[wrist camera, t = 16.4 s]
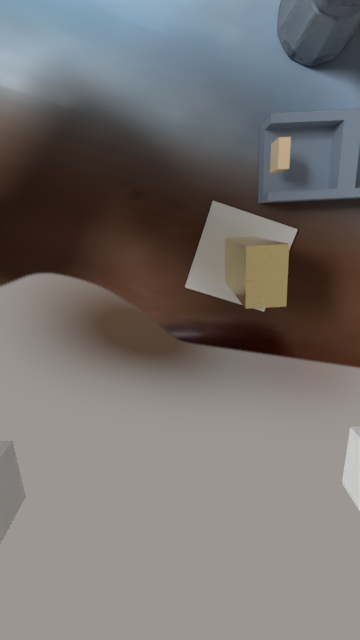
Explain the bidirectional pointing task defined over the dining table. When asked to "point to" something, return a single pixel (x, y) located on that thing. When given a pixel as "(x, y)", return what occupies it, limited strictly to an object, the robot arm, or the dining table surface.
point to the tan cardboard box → (257, 271)
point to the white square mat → (211, 248)
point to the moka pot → (316, 28)
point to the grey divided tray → (309, 156)
